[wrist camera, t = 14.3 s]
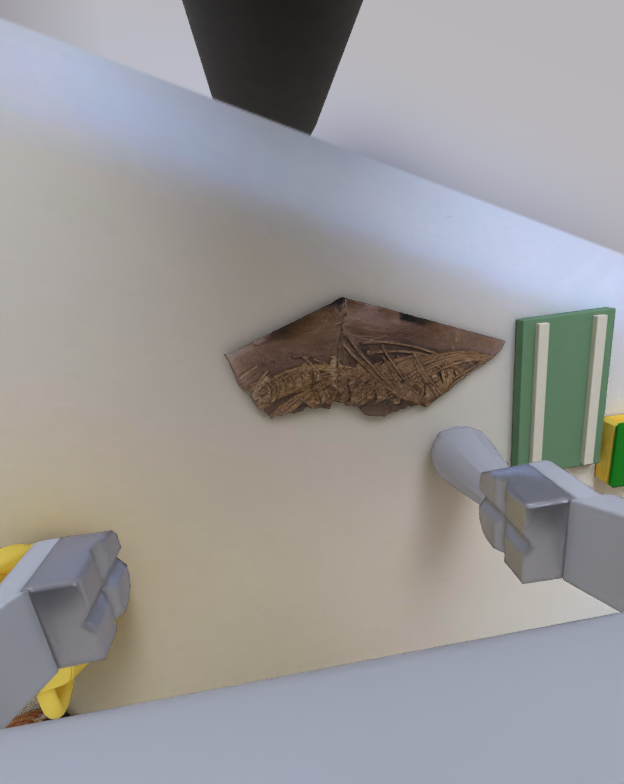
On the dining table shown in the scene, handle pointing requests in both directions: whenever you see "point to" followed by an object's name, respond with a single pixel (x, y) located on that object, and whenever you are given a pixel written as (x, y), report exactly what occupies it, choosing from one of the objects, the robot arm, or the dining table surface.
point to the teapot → (61, 685)
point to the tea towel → (561, 387)
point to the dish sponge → (612, 452)
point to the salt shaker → (465, 459)
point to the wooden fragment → (357, 360)
